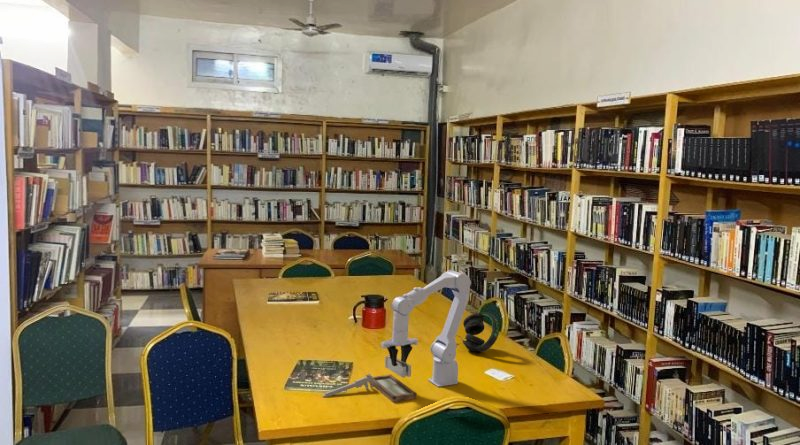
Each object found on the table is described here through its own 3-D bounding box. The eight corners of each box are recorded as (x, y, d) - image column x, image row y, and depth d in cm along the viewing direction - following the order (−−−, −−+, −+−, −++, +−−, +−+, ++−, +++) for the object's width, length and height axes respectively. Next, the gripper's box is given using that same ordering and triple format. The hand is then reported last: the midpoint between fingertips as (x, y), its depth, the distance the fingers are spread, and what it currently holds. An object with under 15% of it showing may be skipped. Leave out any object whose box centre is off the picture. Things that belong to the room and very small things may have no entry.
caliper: (371, 388, 226) (372, 372, 225) (372, 389, 225) (373, 373, 224) (321, 397, 215) (321, 380, 215) (322, 398, 215) (323, 381, 214)
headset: (458, 362, 285) (504, 348, 266) (437, 353, 278) (482, 338, 259) (459, 327, 295) (504, 311, 276) (439, 318, 288) (483, 301, 269)
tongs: (392, 366, 232) (393, 354, 232) (410, 376, 220) (411, 364, 219) (384, 367, 231) (385, 355, 230) (402, 377, 218) (403, 365, 218)
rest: (390, 379, 235) (390, 374, 235) (415, 398, 217) (416, 393, 217) (368, 382, 231) (369, 377, 231) (393, 402, 213) (393, 396, 213)
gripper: (412, 325, 230) (410, 359, 231) (378, 328, 223) (376, 363, 224) (421, 329, 224) (419, 365, 225) (386, 333, 217) (384, 369, 218)
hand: (398, 364), depth 224 cm, fingers closed on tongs, 3 cm apart
